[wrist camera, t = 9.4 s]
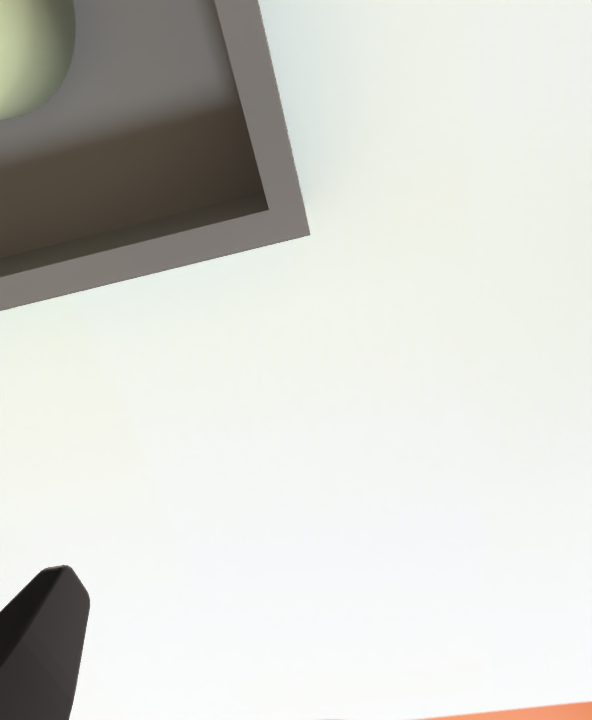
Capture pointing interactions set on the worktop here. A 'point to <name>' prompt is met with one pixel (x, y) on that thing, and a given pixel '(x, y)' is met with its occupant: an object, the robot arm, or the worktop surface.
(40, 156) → the serving bin
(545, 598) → the worktop surface
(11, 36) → the salad tub
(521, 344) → the worktop surface
